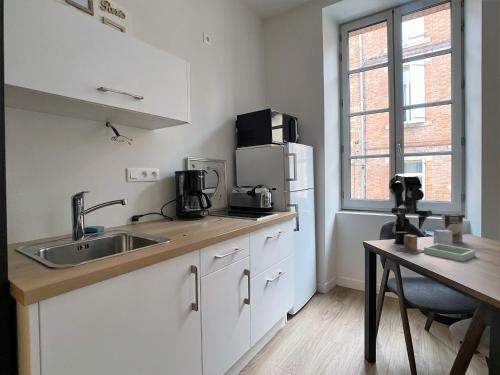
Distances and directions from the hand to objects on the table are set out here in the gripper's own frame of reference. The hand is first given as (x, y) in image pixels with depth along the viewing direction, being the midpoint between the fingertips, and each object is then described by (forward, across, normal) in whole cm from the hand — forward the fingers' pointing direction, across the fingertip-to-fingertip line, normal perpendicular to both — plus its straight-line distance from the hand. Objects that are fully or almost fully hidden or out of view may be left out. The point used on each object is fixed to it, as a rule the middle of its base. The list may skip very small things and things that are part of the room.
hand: (410, 227), depth 143 cm
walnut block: (+12, 0, 0) cm, 12 cm away
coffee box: (+13, +2, +42) cm, 44 cm away
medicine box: (+13, +4, +26) cm, 29 cm away
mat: (+13, 0, 0) cm, 13 cm away
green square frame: (+13, +14, +8) cm, 21 cm away
